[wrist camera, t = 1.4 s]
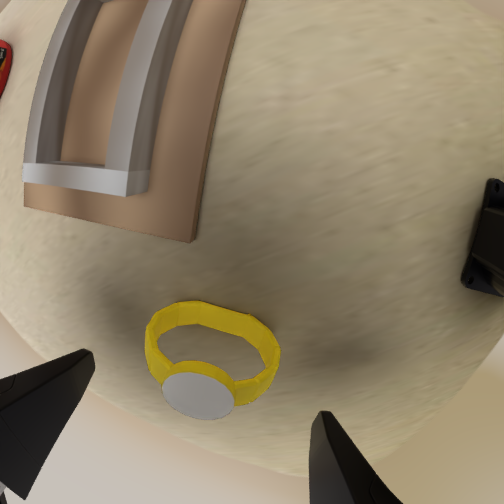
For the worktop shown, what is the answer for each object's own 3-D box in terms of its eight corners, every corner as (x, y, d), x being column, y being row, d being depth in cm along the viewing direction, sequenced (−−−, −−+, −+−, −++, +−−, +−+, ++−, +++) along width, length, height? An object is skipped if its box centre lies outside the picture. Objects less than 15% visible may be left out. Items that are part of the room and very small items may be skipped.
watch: (282, 307, 14) (294, 392, 8) (267, 347, 15) (270, 432, 9) (169, 279, 14) (122, 350, 8) (163, 322, 15) (125, 398, 9)
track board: (258, -37, 8) (253, -66, 5) (194, 238, 13) (174, 257, 10) (85, -13, 8) (63, -27, 6) (32, 203, 13) (1, 212, 11)
